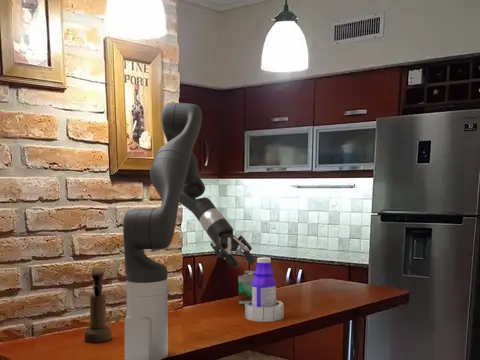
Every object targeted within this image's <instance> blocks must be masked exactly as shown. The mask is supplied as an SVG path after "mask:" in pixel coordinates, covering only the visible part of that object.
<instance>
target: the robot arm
mask: <svg viewBox="0 0 480 360" xmlns="http://www.w3.org/2000/svg"><path fill="white" fill-rule="evenodd" d="M202 122H203V113H202V108H201V107H200V106H199V105H197V104H194V103H187V102H186V103H185V102H167V103H166V104H164V105H163V109H162V111H161V127H162V130H163V133H164V136H165V139H166V141H167V142H166V143H164V144H163V145H162V146H161V147H160V148H159V149H158V150H156V153H155V155H154V158H153V161H152V163H151V166H150V169H149V177H150V181H151V184H152V186H153V187H154V189H155V191H156V192H157V193H158V195H159V197H160V199H161V205H160V206H159V207H158V208H131V209H129V210H128V211H127V212H126V213H125V215H124V218H123V223H122V225H123V226H122V227H123V228H122V233H123V235H122V236H123V238H122V239H123V252H124V268H125V281H126V282H125V283H126V284H125V285H126V286H125V287H126V289H125V290H126V292H125V295H126V297H125V301H126V304H125V305H126V306H125V308H126V311H125V313H126V316H125V317H124V360H163V359H166V358H167V357H168V355H169V329H168V328H169V326H168V325H169V322H168V321H169V320H168V319H169V314H168V313H169V311H168V310H169V309H168V301H169V299H168V298H169V297H168V293H169V292H168V287H169V285H168V267H167V266H166V265H164V264H162V263H159V262H157V261H154V259H152V258H150V257H149V256H147V254H146V253H145V250H163V249H164V250H165V249H167V248H168V247H170V245H171V243H172V242H173V239H174V235H175V229H176V223H177V219H178V218H177V217H178V213H179V212H178V211H179V206H180V205H179V204H181V206H183V207H184V208H186V209H188V210H189V212H191V213H192V214H193V215H194V216H195V218H196V219H197V220H198V222H199V224H200V225H201V227H202V229H203V230H204V232H205V233H206V234H207V235H208V238H209V239H210V240H211V243H210V246H211V248H212V250H213V251H214V253H215V254H216V255H217V257H218V258H219V259H222V258H223V259H224V260H226V262H228V263H229V265H230V266H231V268H233V269H236V268H237V267H238V265H239V261H237V259H236V257H235V256H234V255H233V254H232V252H235V253H236V254H240V255H242V256H243V258H245V260H246V262H248V264H249V265H250V266H253V265H254V263H255V262H256V258H255V257H254V256H253V255H252V253H251V251H252V250H253V248H252V246H251V245H250V243H249V242H248V241H247V240H246V239H245V237H244V236H242V235H239V237H237V236H235V234H234V228H233V226H232V225H231V223H230V222H229V221H228V220H227V219H226V217H225V216H224V215H223V213H222V212H220V211H219V210H218V208H217V207H216V206H215V204H214V203H213V202H212V201H211V199H210V198H208V197H201V196H203V195H204V193H205V191H206V185H205V183H204V181H203V180H202V178H201V176H200V173H199V168H198V160H197V157H196V155H195V154H194V152H193V149H194V146H195V144H196V141H197V138H198V136H199V134H200V131H201V127H202V124H203V123H202ZM199 197H200V198H199Z"/></svg>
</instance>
